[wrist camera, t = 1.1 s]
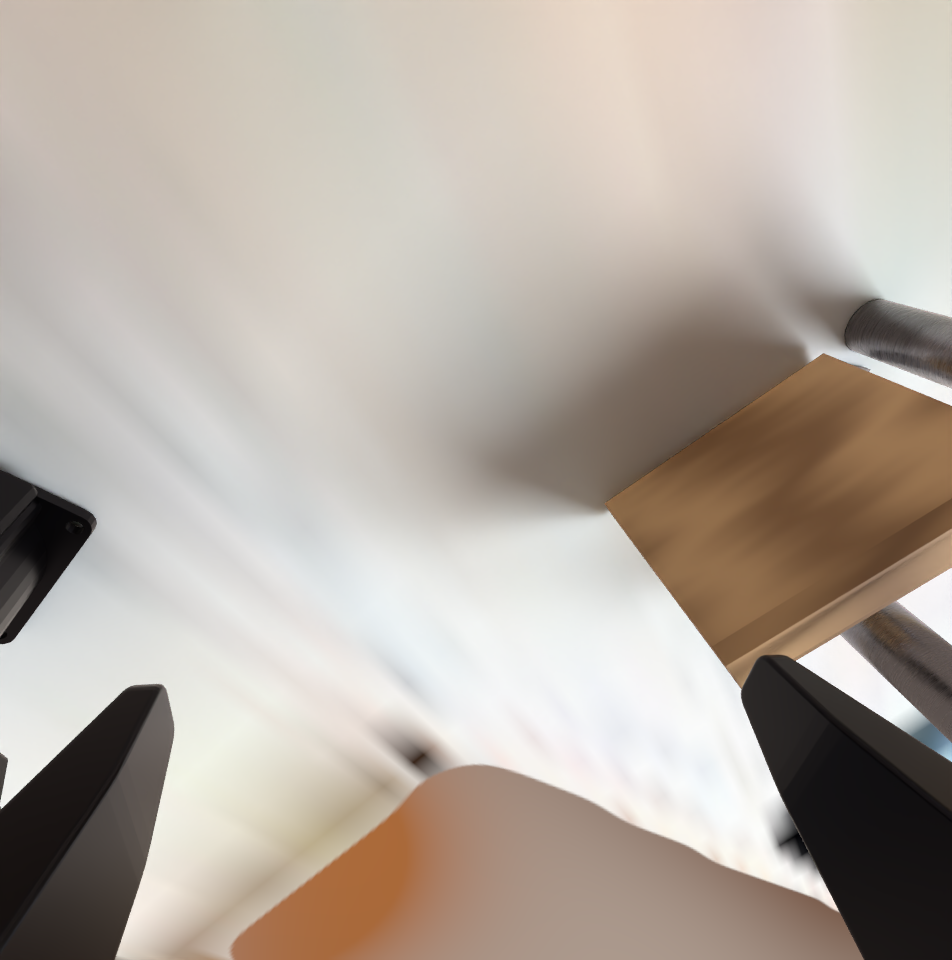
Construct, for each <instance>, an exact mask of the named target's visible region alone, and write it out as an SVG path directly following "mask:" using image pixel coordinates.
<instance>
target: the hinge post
mask: <svg viewBox="0 0 952 960" xmlns="http://www.w3.org/2000/svg"><path fill="white" fill-rule="evenodd" d="M845 340H846V344H847V346H848V347H849V348H850V349H851V350H852V351H855V352H857V353H860V354H863V355H865V356H868V357H870V358H873V359H876V360H878V361H881V362H884V363H886V364H889V365H891V366H894V367H897V368H899V369H902V370H905V371H907V372H910V373H912V374H915V375H918V376H920V377H923V378H926V379H928V380H931V381H933V382H936V383H939V384H941V385H944V386H947V387H949V388H952V318H951V317H948V316H944V315H940V314H936V313H932V312H929V311H925V310H921V309H917V308H913V307H910V306H906V305H902V304H898V303H895V302H891V301H887V300H883V299H877V300H873V301H870V302H868V303H866V304H865V305H863V306H862V307H861V308H860V309H858V311H857V312H856V313H855V314H854V315H853V317H852V318H851V320H850V321H849V323H848V326H847V328H846V333H845Z"/></svg>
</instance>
